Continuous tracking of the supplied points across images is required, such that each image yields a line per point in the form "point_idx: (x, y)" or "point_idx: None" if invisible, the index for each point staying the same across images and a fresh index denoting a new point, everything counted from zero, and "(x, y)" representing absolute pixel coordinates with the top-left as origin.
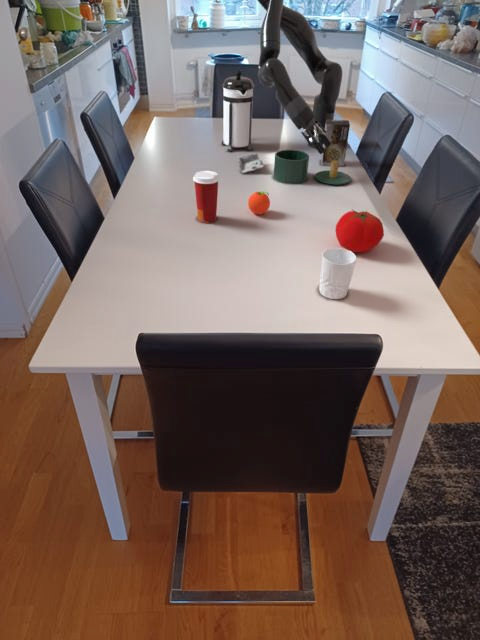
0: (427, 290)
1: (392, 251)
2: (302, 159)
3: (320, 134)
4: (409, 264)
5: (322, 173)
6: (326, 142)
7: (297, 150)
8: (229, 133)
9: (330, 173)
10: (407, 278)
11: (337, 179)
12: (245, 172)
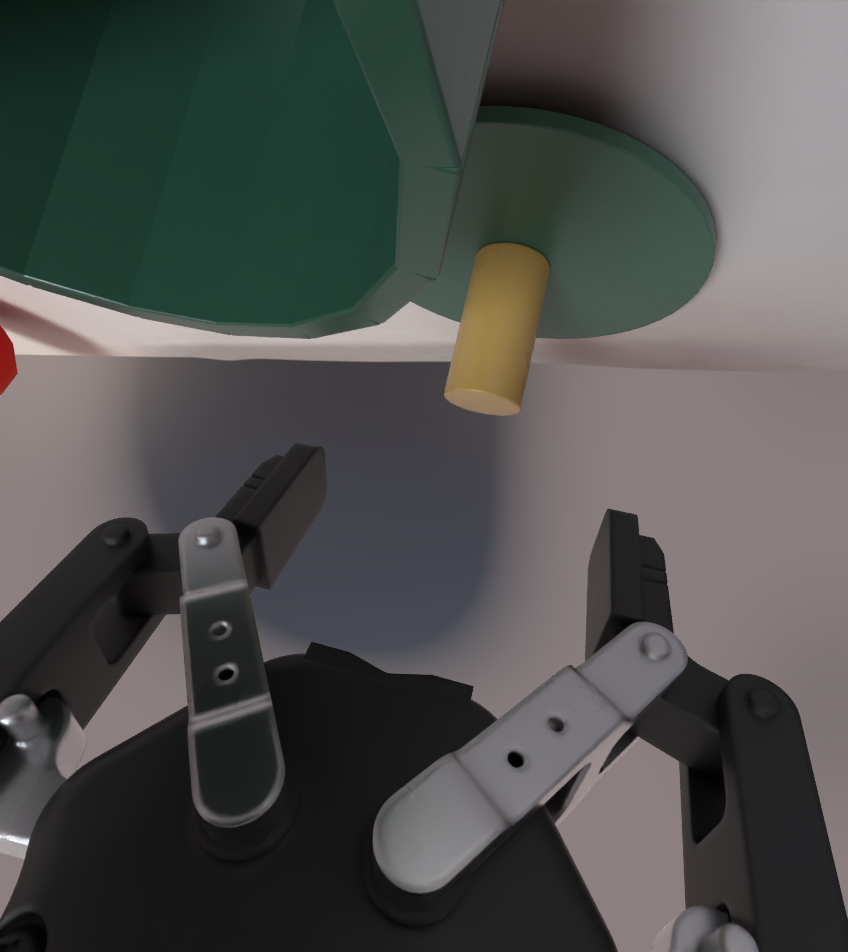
0: (15, 350)
1: (58, 337)
2: (25, 279)
3: (675, 716)
4: (55, 348)
5: (569, 188)
6: (599, 578)
7: (428, 161)
8: None
9: (473, 282)
10: None
11: (461, 284)
12: None
